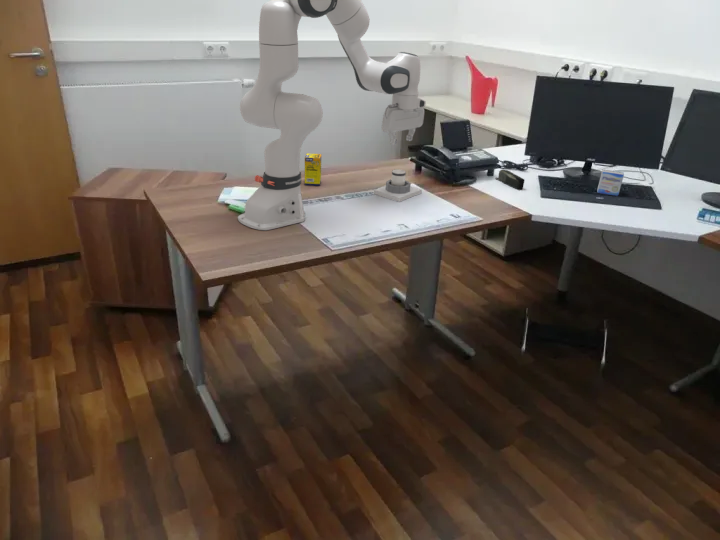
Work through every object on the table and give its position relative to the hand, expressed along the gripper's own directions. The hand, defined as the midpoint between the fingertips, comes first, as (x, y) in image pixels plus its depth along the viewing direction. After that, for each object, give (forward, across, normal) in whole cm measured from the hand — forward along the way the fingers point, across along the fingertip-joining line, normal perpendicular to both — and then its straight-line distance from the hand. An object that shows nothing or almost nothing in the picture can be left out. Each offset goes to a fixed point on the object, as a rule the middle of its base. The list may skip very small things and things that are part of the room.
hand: (401, 142), depth 198 cm
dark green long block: (+19, +44, -23) cm, 53 cm away
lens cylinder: (+18, +1, 0) cm, 18 cm away
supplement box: (+20, -14, +30) cm, 38 cm away
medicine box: (+19, +64, -56) cm, 87 cm away
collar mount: (+19, +1, 0) cm, 19 cm away
